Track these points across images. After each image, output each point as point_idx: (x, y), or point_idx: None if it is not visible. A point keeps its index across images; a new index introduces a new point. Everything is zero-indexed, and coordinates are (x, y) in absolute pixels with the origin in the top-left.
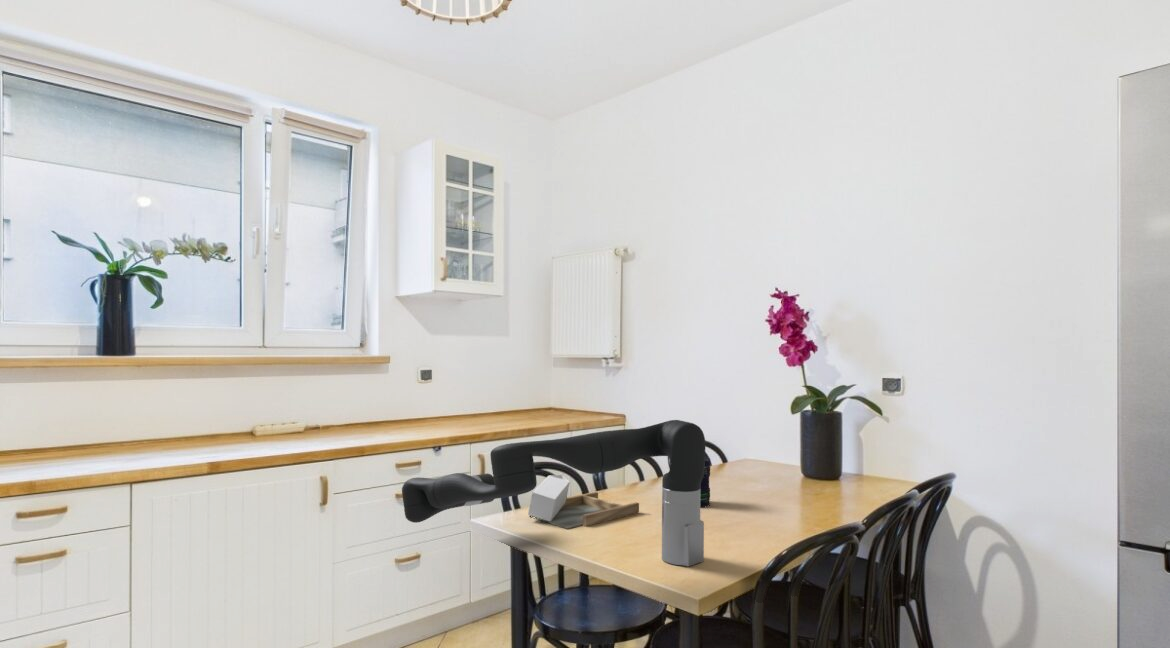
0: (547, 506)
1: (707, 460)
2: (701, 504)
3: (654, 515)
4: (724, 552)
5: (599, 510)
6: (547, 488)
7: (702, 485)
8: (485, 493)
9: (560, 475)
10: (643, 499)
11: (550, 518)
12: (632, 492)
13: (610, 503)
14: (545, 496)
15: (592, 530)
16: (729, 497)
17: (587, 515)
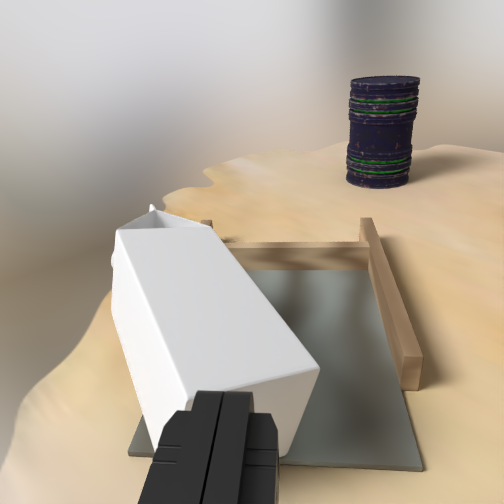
0: (280, 415)
1: (418, 78)
2: (406, 176)
3: (411, 235)
4: None
5: (291, 277)
6: (204, 310)
7: (411, 136)
8: None
9: (151, 213)
10: (281, 199)
11: (287, 445)
12: (224, 190)
13: (326, 247)
14: (269, 379)
15: (487, 406)
16: None
17: (420, 349)
